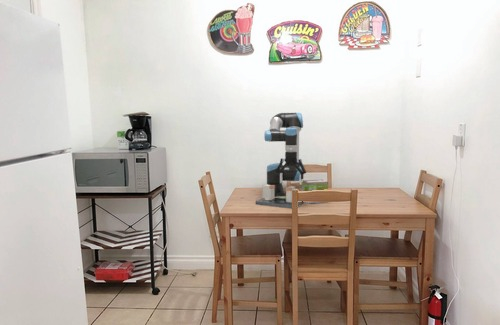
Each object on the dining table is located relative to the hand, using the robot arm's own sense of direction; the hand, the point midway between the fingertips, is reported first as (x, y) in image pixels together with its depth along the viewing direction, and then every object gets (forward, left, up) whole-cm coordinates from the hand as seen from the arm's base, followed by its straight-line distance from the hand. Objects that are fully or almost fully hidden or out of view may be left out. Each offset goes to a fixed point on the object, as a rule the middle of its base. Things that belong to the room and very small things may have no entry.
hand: (290, 183), depth 231 cm
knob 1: (0, -16, -13) cm, 20 cm away
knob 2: (0, 0, -13) cm, 13 cm away
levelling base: (0, -8, -15) cm, 17 cm away
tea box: (-16, +12, -15) cm, 25 cm away
